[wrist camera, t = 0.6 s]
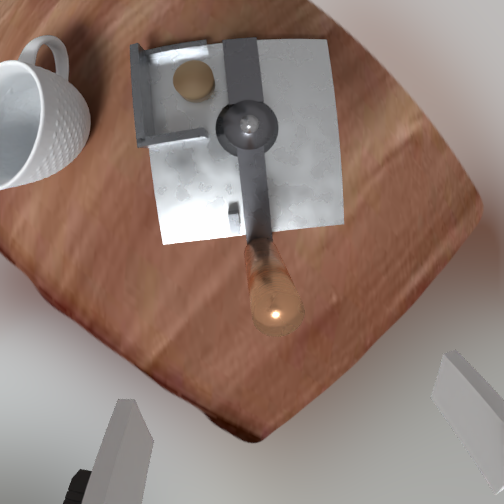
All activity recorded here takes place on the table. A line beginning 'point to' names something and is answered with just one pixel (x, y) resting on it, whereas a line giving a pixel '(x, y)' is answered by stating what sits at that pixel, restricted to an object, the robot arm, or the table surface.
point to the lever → (257, 192)
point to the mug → (39, 116)
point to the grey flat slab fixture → (225, 154)
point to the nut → (194, 81)
